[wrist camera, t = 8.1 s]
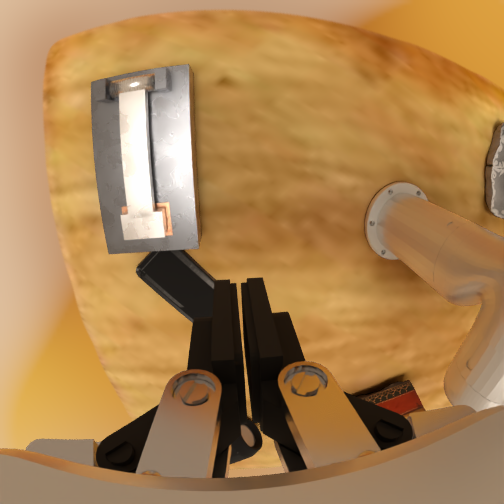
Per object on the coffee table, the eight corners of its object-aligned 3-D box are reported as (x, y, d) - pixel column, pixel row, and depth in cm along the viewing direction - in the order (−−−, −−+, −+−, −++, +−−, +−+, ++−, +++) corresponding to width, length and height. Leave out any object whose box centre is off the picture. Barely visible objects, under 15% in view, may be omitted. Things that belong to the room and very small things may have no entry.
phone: (167, 236, 38) (240, 305, 43) (168, 234, 39) (240, 301, 44) (132, 271, 40) (204, 332, 45) (134, 268, 41) (204, 328, 46)
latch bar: (115, 82, 25) (109, 79, 24) (157, 75, 26) (153, 71, 24) (128, 235, 33) (123, 241, 31) (167, 232, 33) (164, 238, 31)
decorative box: (410, 366, 57) (440, 412, 42) (396, 419, 64) (416, 460, 48) (330, 388, 58) (349, 444, 42) (329, 438, 65) (341, 485, 49)
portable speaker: (234, 407, 55) (237, 445, 46) (262, 423, 58) (267, 458, 49) (159, 439, 59) (156, 471, 50) (187, 453, 63) (186, 483, 54)
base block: (106, 87, 30) (80, 78, 23) (193, 73, 31) (185, 57, 23) (120, 240, 38) (100, 264, 31) (201, 234, 39) (196, 258, 32)
